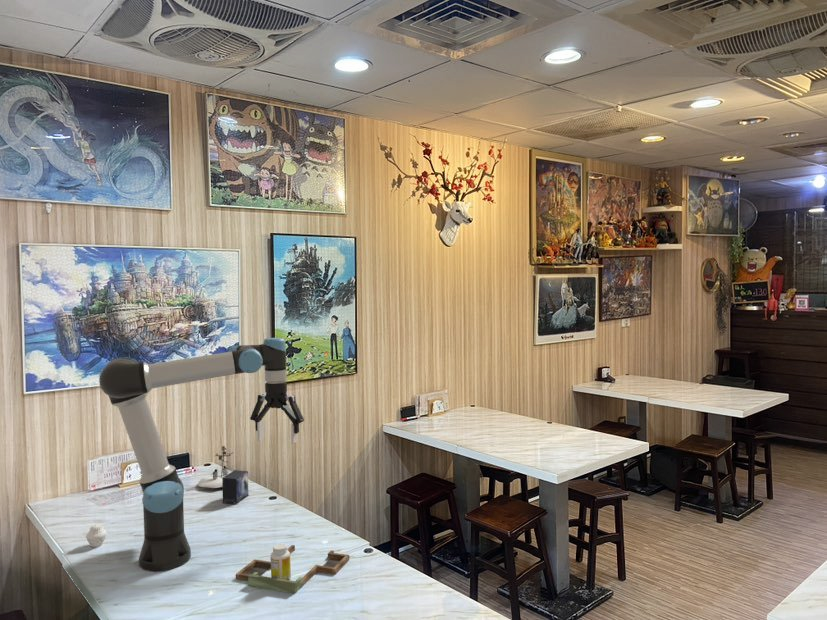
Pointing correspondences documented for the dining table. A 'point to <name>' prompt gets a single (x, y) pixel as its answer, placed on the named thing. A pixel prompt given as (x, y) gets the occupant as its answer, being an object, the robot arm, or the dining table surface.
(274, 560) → the supplement bottle
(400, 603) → the dining table surface
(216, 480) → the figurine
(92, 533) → the off-white rounded lump
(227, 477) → the small box
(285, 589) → the lane
